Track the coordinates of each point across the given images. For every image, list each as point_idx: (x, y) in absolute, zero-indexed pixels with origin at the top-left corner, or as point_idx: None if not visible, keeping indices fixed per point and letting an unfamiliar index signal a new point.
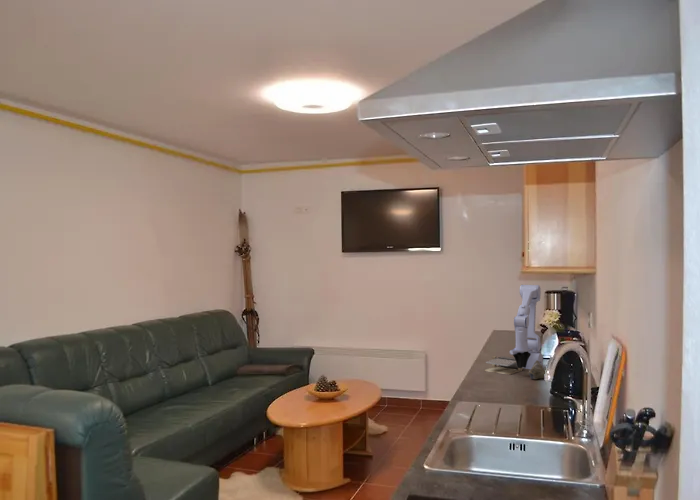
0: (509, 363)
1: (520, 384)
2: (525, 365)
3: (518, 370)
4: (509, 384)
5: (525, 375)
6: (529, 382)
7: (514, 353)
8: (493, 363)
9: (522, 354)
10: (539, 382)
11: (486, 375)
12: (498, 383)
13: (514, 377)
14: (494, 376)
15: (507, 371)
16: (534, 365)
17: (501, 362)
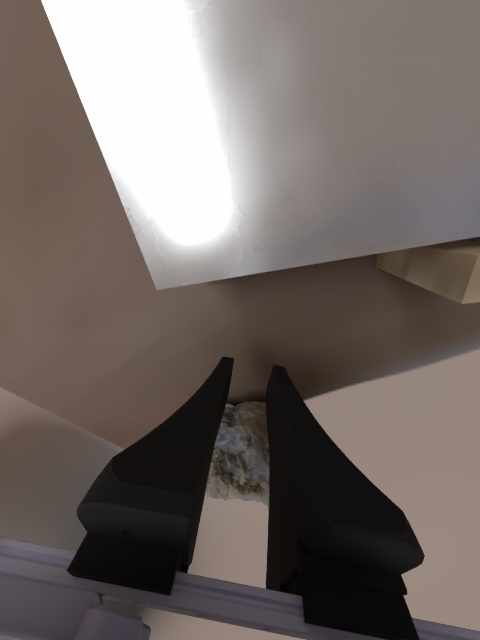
0: (242, 253)
1: (105, 408)
2: (266, 410)
3: None
4: (58, 383)
5: (272, 350)
6: (163, 416)
7: (17, 569)
8: (52, 12)
9: (291, 525)
10: None
11: (20, 149)
12: (14, 345)
13: (175, 333)
14: (70, 227)
15: None
16: (216, 497)
17: (203, 102)
